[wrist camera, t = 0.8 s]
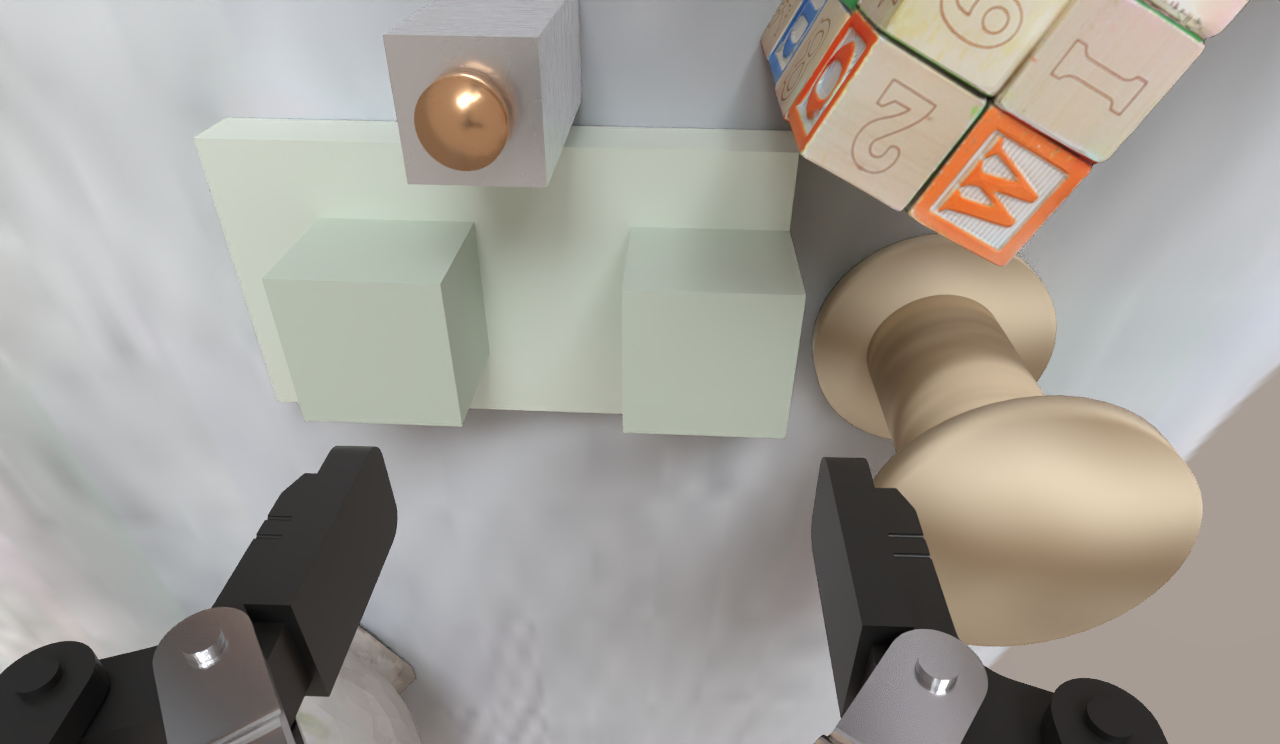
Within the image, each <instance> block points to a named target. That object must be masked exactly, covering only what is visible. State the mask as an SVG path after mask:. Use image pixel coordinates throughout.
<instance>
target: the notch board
mask: <svg viewBox="0 0 1280 744" xmlns="http://www.w3.org/2000/svg"><path fill="white" fill-rule="evenodd" d="M194 141H195V144H196V148H197V151H198V154H199V157H200V160H201V163H202V166H203V170H204V173H205V176H206V179H207V182H208V185H209V188H210V192H211V195H212V198H213V201H214V204H215V207H216V210H217V214H218V217H219V220H220V223H221V226H222V229H223V232H224V236H225V239H226V242H227V245H228V248H229V251H230V254H231V257H232V261H233V264H234V267H235V270H236V273H237V276H238V279H239V283H240V286H241V289H242V292H243V295H244V298H245V301H246V305H247V308H248V311H249V314H250V317H251V320H252V323H253V327H254V330H255V333H256V336H257V339H258V342H259V345H260V349H261V352H262V355H263V358H264V361H265V364H266V367H267V370H268V374H269V377H270V380H271V383H272V386H273V389H274V392H275V396H276V399H277V401H279V402H299V405H300V408H301V412H302V415H303V418H304V421H324V422H351V423H377V424H404V425H431V426H458V427H462V426H463V423H464V421H465V418H466V415H467V413H468V410H469V408H471V409H499V410H526V411H554V412H581V413H609V414H622V419H623V433H646V434H673V435H700V436H726V437H753V438H780V439H785V437H786V430H787V424H788V417H789V410H790V403H791V396H792V390H793V383H794V376H795V369H796V362H797V356H798V349H799V342H800V335H801V328H802V322H803V315H804V308H805V301H806V292H805V288H804V285H803V281H802V277H801V273H800V269H799V265H798V261H797V258H796V254H795V250H794V246H793V242H792V238H791V234H790V224H791V216H792V208H793V200H794V192H795V184H796V176H797V168H798V160H799V150H798V148H797V145H796V142H795V139H794V136H793V133H792V131H782V130H739V129H696V128H653V127H610V126H571V128H570V131H569V133H568V136H567V139H566V141H565V144H564V146H563V149H562V151H561V154H560V156H559V159H558V161H557V164H556V167H555V169H554V172H553V174H552V177H551V179H550V182H549V184H548V187H547V188H534V187H496V186H458V185H420V184H408V183H407V177H406V171H405V165H404V159H403V153H402V147H401V141H400V135H399V129H398V123H397V122H396V121H353V120H310V119H267V118H225V119H223V120H222V121H220V122H219V123H217V124H215V125H214V126H212V127H210V128H209V129H207V130H206V131H204V132H202V133H201V134H199V135H198V136H196V137H194Z"/></svg>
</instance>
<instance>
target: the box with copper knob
mask: <svg viewBox="0 0 1280 744" xmlns="http://www.w3.org/2000/svg"><path fill="white" fill-rule="evenodd" d="M383 39H384V45H385V51H386V57H387V63H388V69H389V75H390V81H391V87H392V93H393V99H394V105H395V111H396V117H397V123H398V129H399V135H400V141H401V147H402V153H403V159H404V165H405V171H406V177H407V183H408V184H420V185H458V186H496V187H534V188H547V187H548V184H549V182H550V179H551V177H552V174H553V172H554V169H555V167H556V164H557V161H558V159H559V156H560V154H561V151H562V149H563V146H564V144H565V141H566V139H567V136H568V133H569V131H570V128H571V126H572V123H573V121H574V118H575V116H576V113H577V111H578V108H579V105H580V103H581V100H582V84H581V54H580V24H579V0H434V1H432V2H431V3H429V4H428V5H426V6H425V7H423V8H422V9H420V10H419V11H417V12H416V13H414V14H413V15H411V16H410V17H408V18H407V19H405V20H404V21H402V22H401V23H399V24H398V25H396V26H395V27H393V28H392V29H390V30H389V31H387V32H386V33H384V34H383Z"/></svg>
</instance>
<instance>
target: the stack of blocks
mask: <svg viewBox="0 0 1280 744" xmlns="http://www.w3.org/2000/svg"><path fill="white" fill-rule="evenodd" d="M1249 1H1250V0H783V1H782V2H781V4H780V6H779V7H778V9H777V11H776V13H775V14H774V16H773V18H772V19H771V21H770V23H769V24H768V26H767V28H766V29H765V31H764V33H763V34H762V37H761V40H760V41H761V44H762V47H763V49H764V53H765V57H766V59H767V60H768V61H769V65H770V69H771V71H772V74H773V78H774V82H775V86H776V87H775V92H776V94H777V99H778V103H779V106H780V108H781V112H782V114H783V118H784V119H785V120H786V121H787V122H789V123H790V125H791V129H792V132H793V135H794V138H795V141H796V145H797V148H798V150H799V153H800V155H801V156H803V157H804V158H805V159H807V160H809V161H811V162H813V163H815V164H816V165H818V166H820V167H822V168H824V169H825V170H827V171H829V172H830V173H832V174H834V175H836V176H837V177H839V178H841V179H843V180H844V181H846V182H848V183H850V184H851V185H853V186H855V187H856V188H858V189H860V190H862V191H863V192H865V193H867V194H869V195H870V196H872V197H874V198H875V199H877V200H879V201H880V202H882V203H884V204H886V205H887V206H889V207H891V208H892V209H894V210H896V211H901V210H903V209H905V211H906V212H907V214H908V215H909V216H910V217H912V218H913V219H914V220H916V221H917V222H919V223H921V224H922V225H924V226H926V227H928V228H929V229H931V230H933V231H935V232H937V233H938V234H940V235H942V236H944V237H945V238H947V239H949V240H951V241H953V242H954V243H956V244H958V245H960V246H961V247H963V248H965V249H967V250H969V251H971V252H972V253H974V254H976V255H978V256H980V257H982V258H983V259H985V260H987V261H989V262H991V263H993V264H995V265H997V266H1000V267H1005V266H1006V265H1007V264H1008V263H1009V261H1010V260H1011V259H1012V258H1013V257H1014V256H1015V255H1016V254H1017V253H1018V252H1019V251H1020V249H1021V248H1022V247H1023V246H1024V245H1025V244H1026V243H1027V242H1028V240H1029V239H1030V238H1031V237H1032V236H1033V235H1034V234H1035V233H1036V231H1037V230H1038V229H1039V228H1040V227H1041V226H1042V225H1043V224H1044V222H1045V221H1046V220H1047V219H1048V218H1049V217H1050V216H1051V215H1052V214H1053V213H1054V212H1055V211H1056V210H1057V208H1058V207H1059V206H1060V205H1061V204H1062V203H1063V202H1064V201H1065V199H1066V198H1067V197H1068V196H1069V195H1070V194H1071V193H1072V191H1073V190H1074V189H1075V188H1076V187H1077V186H1078V185H1079V184H1080V183H1081V181H1082V180H1083V179H1084V178H1085V177H1086V176H1087V175H1088V174H1089V173H1090V171H1091V168H1092V166H1093V164H1096V163H1101V162H1104V161H1106V160H1107V159H1109V158H1110V157H1111V156H1112V154H1113V153H1114V152H1115V151H1116V150H1117V148H1118V147H1119V146H1120V145H1121V144H1122V143H1123V142H1124V141H1125V139H1126V138H1127V137H1128V136H1129V135H1130V134H1131V133H1132V132H1133V131H1134V130H1135V129H1136V127H1137V126H1138V125H1139V124H1140V123H1141V121H1142V120H1143V119H1144V118H1145V117H1146V115H1147V114H1148V113H1149V112H1150V111H1151V110H1152V109H1153V108H1154V107H1155V105H1156V104H1157V103H1158V102H1159V101H1160V100H1161V99H1162V98H1163V97H1164V95H1165V94H1166V93H1167V92H1168V91H1169V90H1170V89H1171V88H1172V86H1173V85H1174V84H1175V83H1176V82H1177V81H1178V79H1179V78H1180V77H1181V76H1182V75H1183V74H1184V72H1185V71H1186V70H1187V69H1188V68H1189V67H1190V65H1191V64H1192V63H1193V62H1194V61H1195V60H1196V58H1197V57H1198V56H1199V55H1200V54H1201V52H1202V51H1203V49H1204V48H1205V42H1204V41H1205V40H1206V38H1210V37H1213V36H1215V35H1217V34H1218V33H1220V32H1222V31H1223V30H1224V29H1225V28H1226V27H1227V26H1228V24H1229V23H1230V22H1231V21H1232V20H1233V19H1234V17H1235V16H1236V15H1237V14H1238V13H1239V12H1240V11H1241V10H1242V9H1243V8H1244V7H1245V6H1246V4H1247V3H1248V2H1249Z"/></svg>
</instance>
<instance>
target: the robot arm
mask: <svg viewBox="0 0 1280 744" xmlns="http://www.w3.org/2000/svg"><path fill="white" fill-rule="evenodd" d="M396 528H397V507H396V503H395V499H394V496H393V492H392V488H391V484H390V481H389V477H388V473H387V470H386V466H385V462H384V459H383V455H382V453H381V451H380V449H379V448H378V447H365V446H335V447H334V448H332V449H331V451H330V452H329V454H328V456H327V457H326V459H325V461H324V463H323V464H322V466H321V468H320V470H319V471H318V473H317V474H311V473H304V474H303V475H302V476H301V477H300V478H299V479H297V480H296V481H295V482H294V483H293V484H292V485H290V486H289V487H288V488H287V489H286V490H284V491H283V492H282V493H281V495H280V496H279V498H278V500H277V501H276V503H275V504H274V506H273V508H272V509H271V511H270V513H269V514H268V519H267V520H265V521H264V523H263V524H262V526H261V527H260V529H259V531H258V532H257V537H256V539H253V541H252V542H251V544H250V546H249V547H248V549H247V551H246V552H245V554H244V555H243V557H242V559H241V560H240V562H239V564H238V565H237V567H236V569H235V570H234V572H233V574H232V575H231V577H230V579H229V580H228V582H227V583H226V585H225V587H224V588H223V590H222V592H221V593H220V595H219V597H218V598H217V600H216V602H215V603H214V605H213V606H212V608H211V609H207V610H203V611H201V612H198V613H195V614H193V615H191V616H189V617H187V618H186V619H184V620H183V621H181V622H179V623H178V624H177V625H176V626H174V627H173V628H172V629H171V630H170V631H169V632H168V633H167V634H166V635H165V636H164V637H163V639H162V640H161V641H160V643H159V645H157V646H154V647H151V648H146V649H142V650H138V651H134V652H130V653H126V654H121V655H117V656H113V657H109V658H105V659H101V660H99V659H98V658H97V656H96V655H95V653H94V652H93V651H92V649H91V648H90V647H89V646H87V645H85V644H84V643H80V642H76V641H63V642H57V643H52V644H49V645H46V646H43V647H40V648H38V649H36V650H34V651H32V652H30V653H28V654H26V655H24V656H23V657H21V658H20V659H18V660H17V661H15V662H14V663H13V664H11V665H10V666H9V667H8V668H6V669H5V670H4V671H3V672H2V673H1V674H0V744H307V743H306V740H305V738H304V735H303V732H302V729H301V726H300V723H299V721H298V719H297V717H296V715H297V713H298V711H299V708H300V706H301V704H302V701H303V699H304V697H305V696H316V697H329V696H330V694H331V692H332V689H333V687H334V684H335V682H336V679H337V677H338V675H339V672H340V670H341V667H342V665H343V662H344V660H345V658H346V655H347V653H348V650H349V648H350V645H351V643H352V640H353V638H354V636H355V633H356V631H357V628H358V626H359V623H360V621H361V619H362V616H363V614H364V611H365V609H366V606H367V604H368V602H369V599H370V597H371V594H372V592H373V589H374V587H375V584H376V582H377V580H378V577H379V575H380V572H381V570H382V567H383V565H384V563H385V560H386V558H387V555H388V553H389V550H390V548H391V546H392V543H393V540H394V537H395V534H396ZM811 539H812V552H813V558H814V564H815V570H816V575H817V581H818V587H819V593H820V599H821V605H822V611H823V617H824V622H825V628H826V634H827V640H828V646H829V652H830V658H831V663H832V669H833V675H834V681H835V687H836V693H837V699H838V705H839V710H840V716H841V720H840V721H839V723H838V724H837V726H836V727H835V729H834V730H833V731H832V733H831V734H830V735H829V736H825V735H822V736H821V737H819V738H818V739H817V740H816V741H815V743H814V744H1168V742H1167V740H1166V738H1165V736H1164V734H1163V732H1162V729H1161V728H1160V726H1159V724H1158V722H1157V720H1156V719H1155V718H1154V716H1153V715H1152V713H1151V712H1150V711H1149V710H1148V709H1147V708H1146V707H1145V706H1144V705H1143V704H1142V703H1141V702H1140V701H1139V700H1137V699H1136V698H1135V697H1134V696H1132V695H1131V694H1129V693H1127V692H1126V691H1124V690H1123V689H1121V688H1119V687H1117V686H1115V685H1112V684H1110V683H1108V682H1104V681H1101V680H1097V679H1090V678H1078V679H1072V680H1069V681H1066V682H1064V683H1063V684H1061V685H1060V686H1059V687H1058V688H1057V689H1056V690H1055V692H1054V693H1053V692H1049V691H1046V690H1043V689H1040V688H1037V687H1034V686H1031V685H1027V684H1024V683H1021V682H1018V681H1014V680H1012V679H1009V678H1006V677H1004V676H1001V675H999V674H997V673H995V672H993V671H992V670H990V669H989V668H987V667H985V666H984V665H983V664H982V662H981V660H980V659H979V658H978V656H977V655H976V654H975V653H974V652H973V651H972V649H971V648H969V647H968V646H967V645H966V644H965V643H963V642H962V641H960V639H959V637H958V635H957V633H956V630H955V627H954V624H953V621H952V618H951V615H950V612H949V609H948V606H947V603H946V600H945V597H944V594H943V591H942V588H941V585H940V582H939V579H938V576H937V573H936V570H935V567H934V564H933V561H932V559H930V552H929V549H928V546H927V543H926V540H925V539H924V538H923V531H922V528H921V525H920V522H919V519H918V516H917V513H916V510H915V509H914V507H913V506H912V505H911V504H910V503H909V502H908V501H907V500H906V498H905V497H904V496H903V495H902V494H901V493H900V492H899V491H898V489H897V488H875V486H874V483H873V479H872V475H871V472H870V468H869V465H868V462H867V460H866V459H865V458H833V457H823V458H822V460H821V464H820V470H819V476H818V483H817V489H816V496H815V502H814V509H813V515H812V526H811Z"/></svg>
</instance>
